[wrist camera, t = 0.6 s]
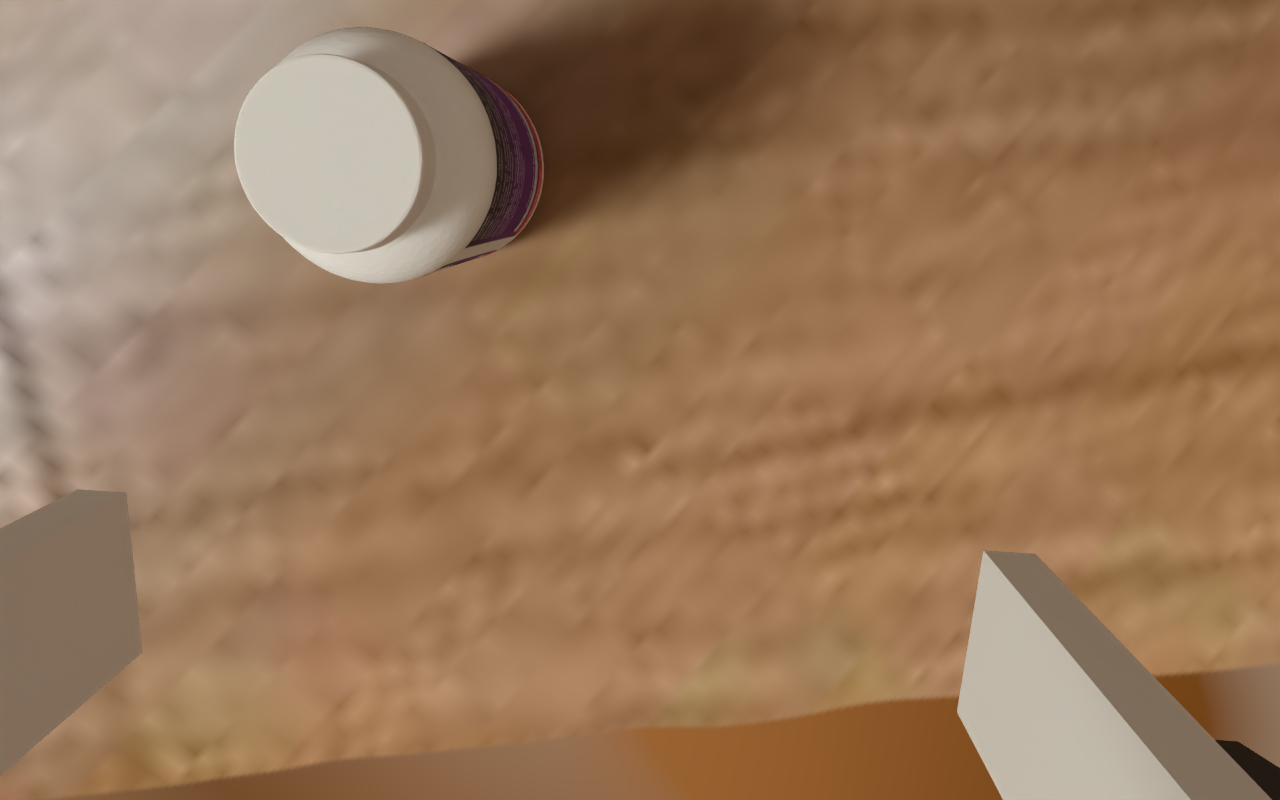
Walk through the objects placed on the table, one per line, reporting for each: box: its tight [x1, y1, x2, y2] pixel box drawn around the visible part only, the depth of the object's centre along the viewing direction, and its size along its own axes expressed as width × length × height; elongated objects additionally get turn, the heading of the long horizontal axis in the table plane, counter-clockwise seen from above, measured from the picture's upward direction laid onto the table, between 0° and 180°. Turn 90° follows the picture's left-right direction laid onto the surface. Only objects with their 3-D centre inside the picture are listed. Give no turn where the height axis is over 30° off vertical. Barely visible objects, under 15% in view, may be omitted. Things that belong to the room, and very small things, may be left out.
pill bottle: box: [234, 27, 544, 283], centre depth 31 cm, size 8×8×14 cm
